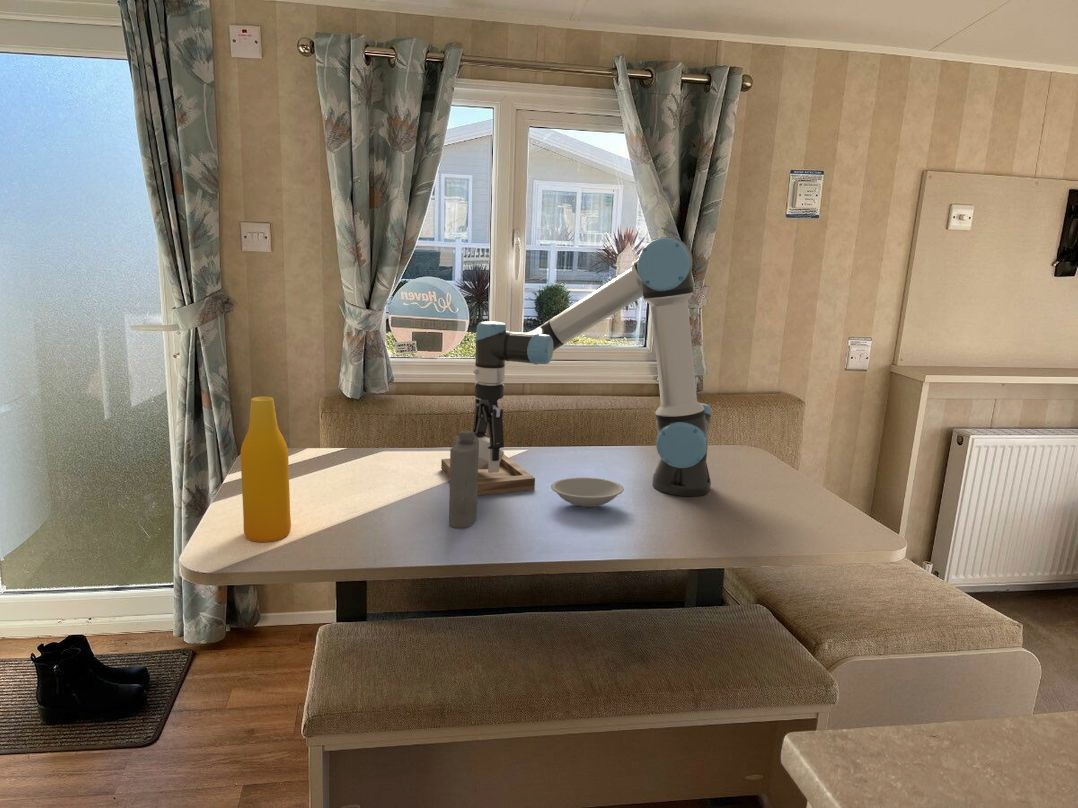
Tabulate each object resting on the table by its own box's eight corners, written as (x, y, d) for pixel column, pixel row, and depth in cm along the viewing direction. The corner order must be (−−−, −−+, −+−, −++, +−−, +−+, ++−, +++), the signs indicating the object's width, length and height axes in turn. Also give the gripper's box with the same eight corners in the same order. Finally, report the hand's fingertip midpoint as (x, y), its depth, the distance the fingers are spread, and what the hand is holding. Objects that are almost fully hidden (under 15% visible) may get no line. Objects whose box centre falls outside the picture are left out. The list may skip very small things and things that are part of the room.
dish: (613, 495, 187) (615, 476, 186) (629, 516, 173) (631, 496, 172) (545, 496, 184) (546, 477, 183) (555, 518, 170) (557, 497, 169)
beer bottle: (276, 545, 149) (271, 405, 143) (234, 540, 151) (227, 401, 144) (299, 528, 158) (295, 395, 152) (259, 523, 160) (253, 392, 153)
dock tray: (534, 489, 189) (535, 478, 188) (467, 496, 182) (467, 484, 181) (502, 464, 209) (503, 453, 208) (441, 469, 201) (441, 459, 201)
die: (494, 477, 189) (513, 444, 191) (465, 460, 188) (484, 427, 190) (489, 478, 197) (508, 447, 199) (462, 461, 196) (480, 430, 198)
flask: (474, 529, 162) (476, 441, 157) (447, 528, 162) (449, 440, 157) (478, 505, 176) (481, 423, 172) (454, 504, 176) (456, 422, 172)
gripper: (461, 375, 197) (460, 455, 202) (490, 391, 178) (488, 480, 183) (488, 374, 201) (485, 453, 206) (519, 390, 181) (516, 477, 186)
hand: (486, 466), depth 194 cm, fingers closed on die, 9 cm apart
